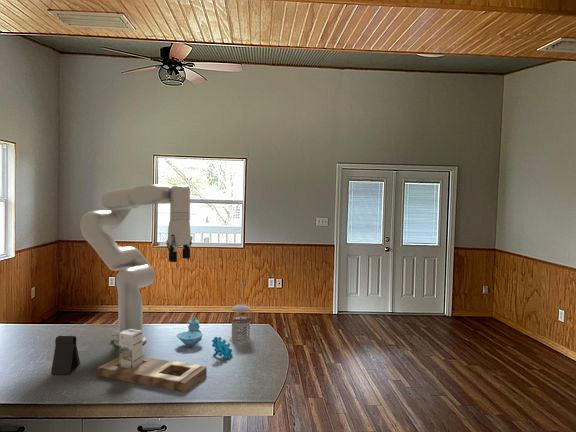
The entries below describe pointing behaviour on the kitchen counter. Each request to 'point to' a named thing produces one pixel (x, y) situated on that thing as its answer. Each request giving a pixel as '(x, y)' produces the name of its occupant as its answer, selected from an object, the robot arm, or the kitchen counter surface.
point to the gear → (221, 348)
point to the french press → (241, 324)
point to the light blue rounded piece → (191, 333)
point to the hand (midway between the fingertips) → (179, 260)
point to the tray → (156, 373)
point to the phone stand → (65, 355)
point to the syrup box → (130, 348)
